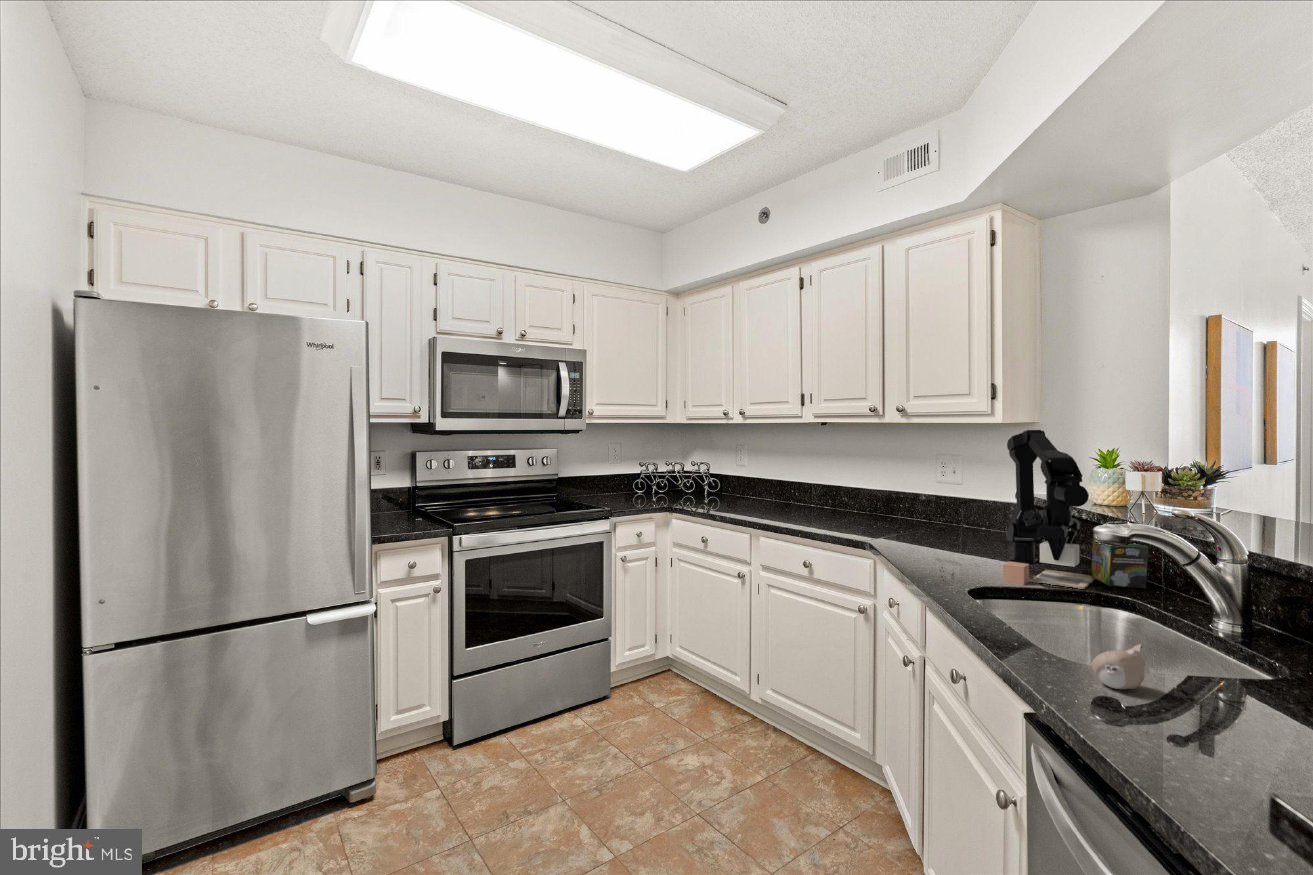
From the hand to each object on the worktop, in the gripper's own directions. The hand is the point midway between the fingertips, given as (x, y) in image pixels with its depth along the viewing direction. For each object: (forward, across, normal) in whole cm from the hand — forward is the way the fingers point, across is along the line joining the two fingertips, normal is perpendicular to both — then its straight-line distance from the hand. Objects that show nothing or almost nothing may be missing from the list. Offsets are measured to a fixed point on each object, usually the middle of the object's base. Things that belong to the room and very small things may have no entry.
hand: (1059, 558), depth 164 cm
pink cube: (+6, +8, -8) cm, 13 cm away
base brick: (+1, 0, 0) cm, 1 cm away
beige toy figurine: (+6, +70, +23) cm, 74 cm away
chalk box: (+6, -7, +12) cm, 15 cm away
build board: (+6, -2, +1) cm, 7 cm away
